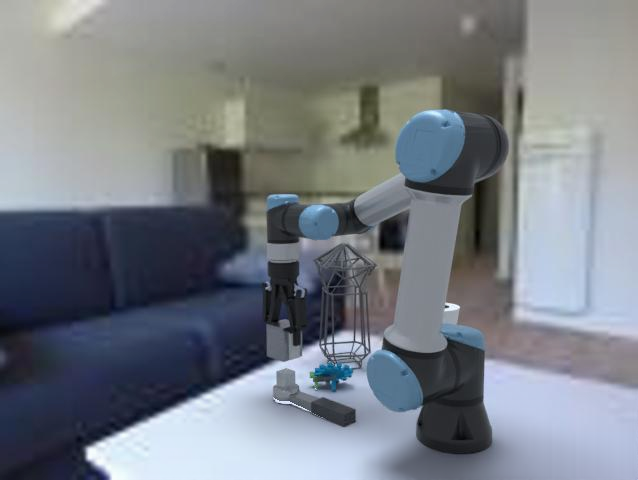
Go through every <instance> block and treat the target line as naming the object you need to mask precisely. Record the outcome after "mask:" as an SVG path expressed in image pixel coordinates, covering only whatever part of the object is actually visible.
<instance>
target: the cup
mask: <svg viewBox="0 0 638 480" xmlns="http://www.w3.org/2000/svg"><path fill="white" fill-rule="evenodd" d="M460 308H461V306H460V305H458V304H455V303H450V302H446V303H445V309H444V315H443V321H442V323H445V324H455V325H458V319H459V315H460Z"/></svg>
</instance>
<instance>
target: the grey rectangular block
mask: <svg viewBox="0 0 638 480" xmlns="http://www.w3.org/2000/svg"><path fill="white" fill-rule="evenodd" d="M295 327H296V326H295ZM289 331H291V328H290V323H289V319H286V318H285V319H279V320H278V321H276V322H272V323H268V324H267V323H266V357H268V358H271V359H272V360H273V359H274V360H276V361H280V362H283V363H285V362H287V361H290V360H289ZM300 357H303V331H301V344H300V345H299V358H300Z"/></svg>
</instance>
